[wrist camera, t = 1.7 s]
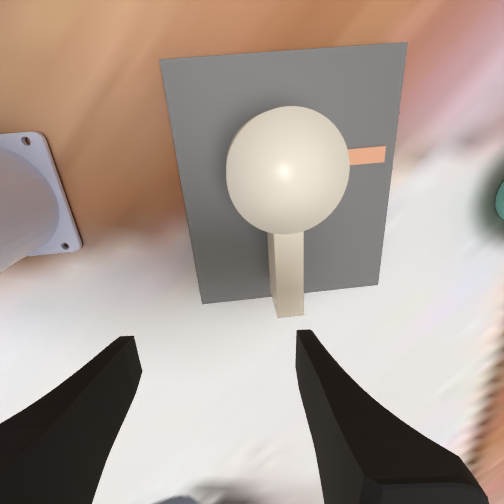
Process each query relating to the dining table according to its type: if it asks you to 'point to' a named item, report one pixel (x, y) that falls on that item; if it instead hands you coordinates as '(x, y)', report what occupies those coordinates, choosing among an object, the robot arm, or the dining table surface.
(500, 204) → the cupcake
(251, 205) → the cream ball joystick
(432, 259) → the dining table surface
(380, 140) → the post board
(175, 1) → the dining table surface
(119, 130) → the dining table surface
